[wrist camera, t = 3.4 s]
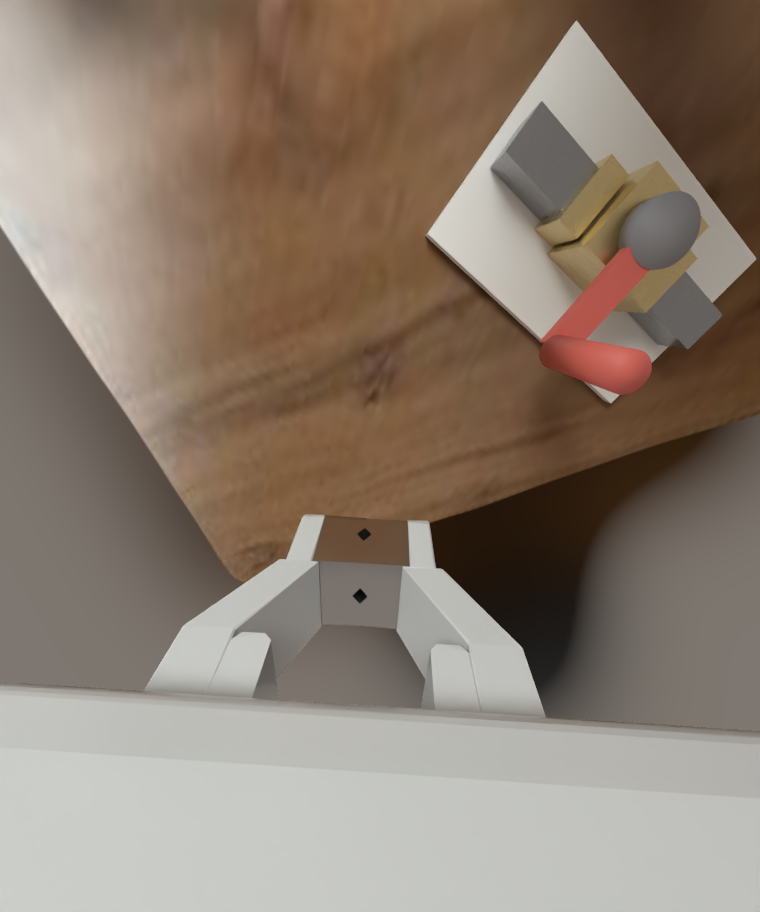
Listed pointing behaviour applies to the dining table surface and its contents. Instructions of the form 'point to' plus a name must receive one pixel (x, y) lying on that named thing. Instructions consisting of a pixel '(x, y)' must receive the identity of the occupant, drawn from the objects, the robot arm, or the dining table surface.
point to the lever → (621, 295)
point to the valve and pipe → (600, 223)
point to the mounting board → (512, 223)
